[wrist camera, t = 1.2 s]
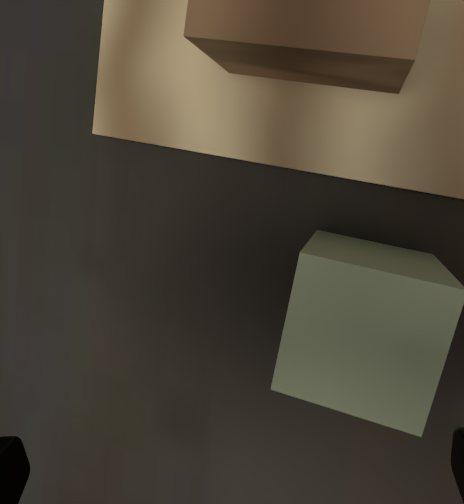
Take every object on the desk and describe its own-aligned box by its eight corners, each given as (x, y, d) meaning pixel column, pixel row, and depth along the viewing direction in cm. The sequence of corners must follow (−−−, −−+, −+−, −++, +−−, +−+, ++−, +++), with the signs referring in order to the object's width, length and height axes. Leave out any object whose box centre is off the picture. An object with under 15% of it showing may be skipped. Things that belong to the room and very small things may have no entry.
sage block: (433, 254, 18) (467, 290, 12) (402, 358, 19) (421, 437, 13) (317, 229, 19) (299, 252, 13) (295, 329, 20) (270, 389, 14)
